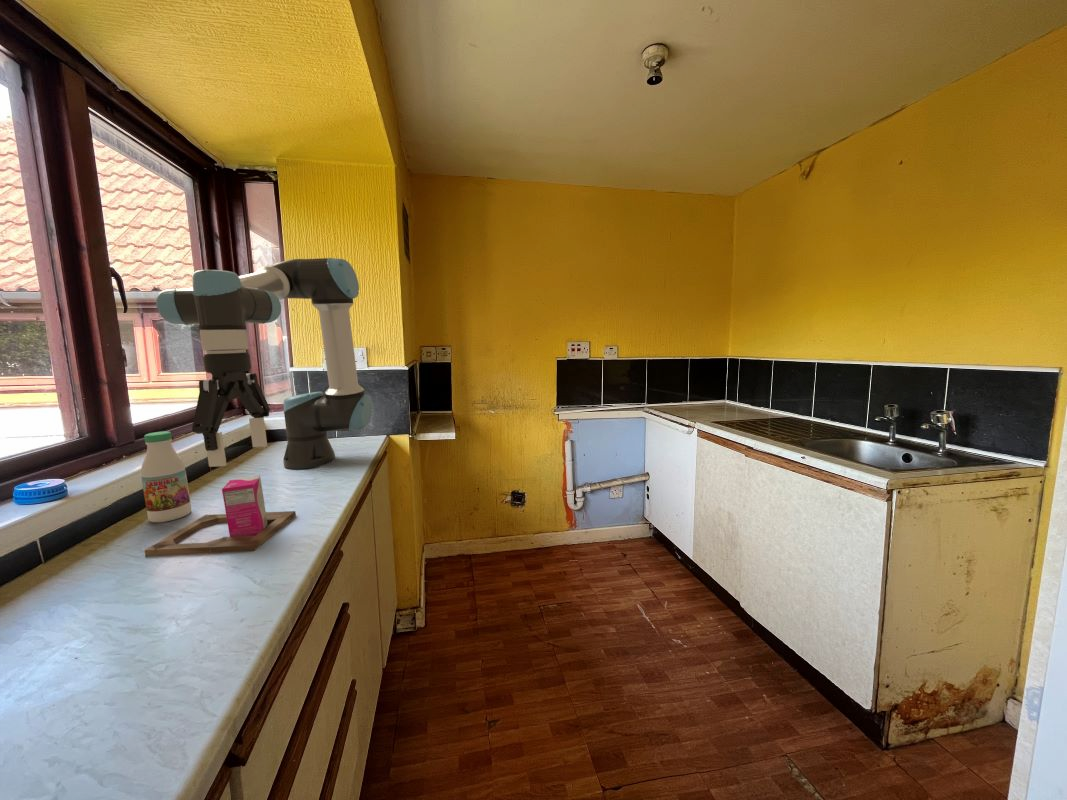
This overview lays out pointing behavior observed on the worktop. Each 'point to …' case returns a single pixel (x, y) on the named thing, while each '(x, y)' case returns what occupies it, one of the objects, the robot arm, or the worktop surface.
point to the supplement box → (244, 506)
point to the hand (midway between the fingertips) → (240, 455)
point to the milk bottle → (164, 480)
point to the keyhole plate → (222, 544)
